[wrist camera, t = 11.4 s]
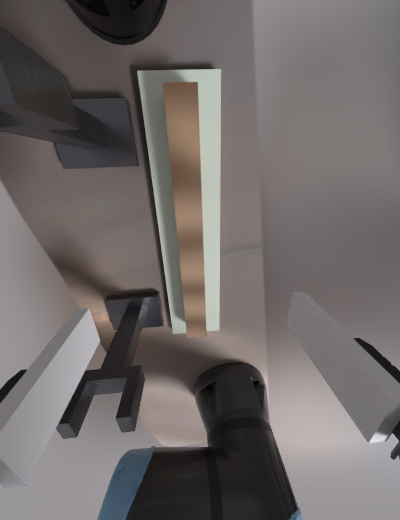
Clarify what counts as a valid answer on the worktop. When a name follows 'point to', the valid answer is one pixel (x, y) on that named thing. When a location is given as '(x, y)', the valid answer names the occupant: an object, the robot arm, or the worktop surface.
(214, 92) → the board
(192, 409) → the worktop surface
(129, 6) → the french press
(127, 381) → the rack
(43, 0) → the worktop surface
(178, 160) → the rail
